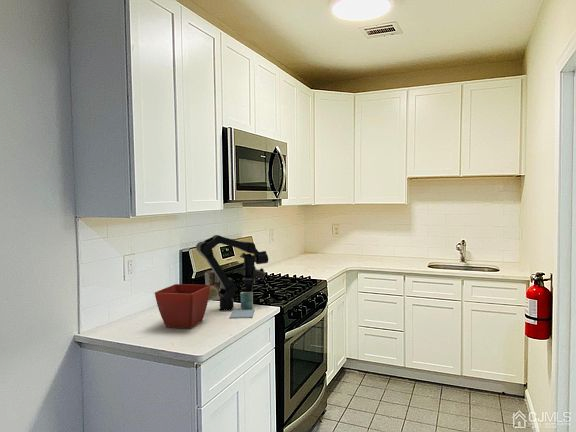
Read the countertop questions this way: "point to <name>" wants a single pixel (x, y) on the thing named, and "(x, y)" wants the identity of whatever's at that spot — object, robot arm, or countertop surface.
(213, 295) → the coffee box
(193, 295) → the plant pot
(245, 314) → the mat
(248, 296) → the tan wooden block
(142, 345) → the countertop surface
